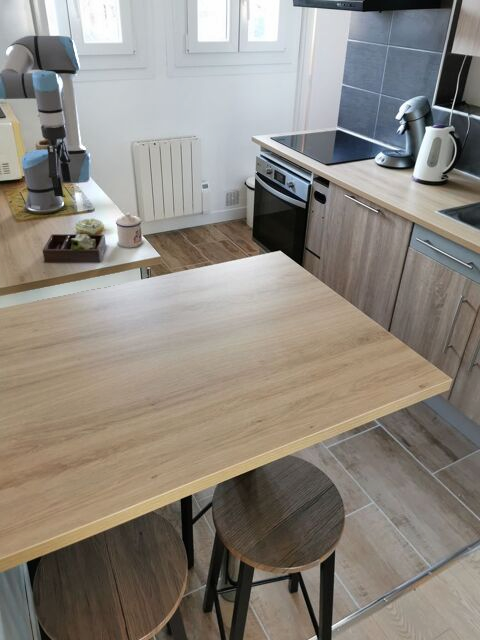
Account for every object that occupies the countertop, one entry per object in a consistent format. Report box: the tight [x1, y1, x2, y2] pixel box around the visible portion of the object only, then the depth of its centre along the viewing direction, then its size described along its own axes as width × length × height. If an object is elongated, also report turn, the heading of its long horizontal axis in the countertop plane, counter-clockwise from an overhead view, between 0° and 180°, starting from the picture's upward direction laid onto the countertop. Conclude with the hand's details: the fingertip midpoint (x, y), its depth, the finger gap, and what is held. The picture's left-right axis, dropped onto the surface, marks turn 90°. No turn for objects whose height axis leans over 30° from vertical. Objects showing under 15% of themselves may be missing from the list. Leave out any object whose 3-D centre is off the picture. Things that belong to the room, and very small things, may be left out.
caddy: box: [42, 233, 107, 263], centre depth 184 cm, size 13×19×5 cm
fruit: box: [69, 233, 96, 249], centre depth 183 cm, size 9×9×8 cm
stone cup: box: [35, 138, 50, 151], centre depth 257 cm, size 15×12×15 cm
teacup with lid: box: [115, 212, 143, 248], centre depth 192 cm, size 12×9×12 cm
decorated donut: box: [74, 218, 105, 235], centre depth 200 cm, size 10×11×4 cm
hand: (63, 188), depth 178 cm, fingers open, 13 cm apart
